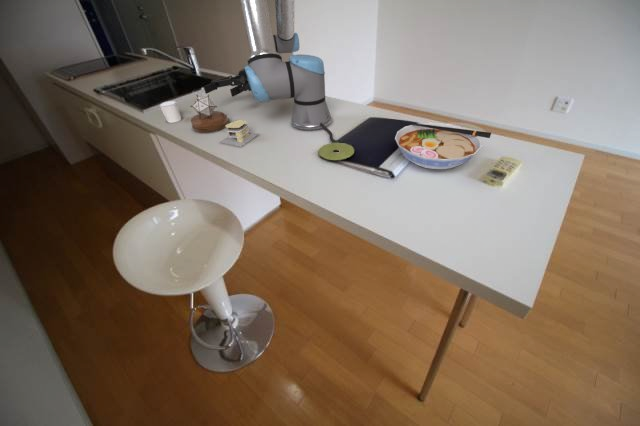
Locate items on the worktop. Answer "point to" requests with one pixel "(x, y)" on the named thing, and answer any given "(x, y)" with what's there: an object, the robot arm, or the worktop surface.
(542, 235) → the worktop surface
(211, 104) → the grey faceted polyhedron
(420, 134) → the ramen bowl
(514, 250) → the worktop surface
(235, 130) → the stacked layers on plate
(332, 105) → the worktop surface
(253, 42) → the robot arm
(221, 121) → the brown round disc
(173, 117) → the white cup
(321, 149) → the green disc with hole
